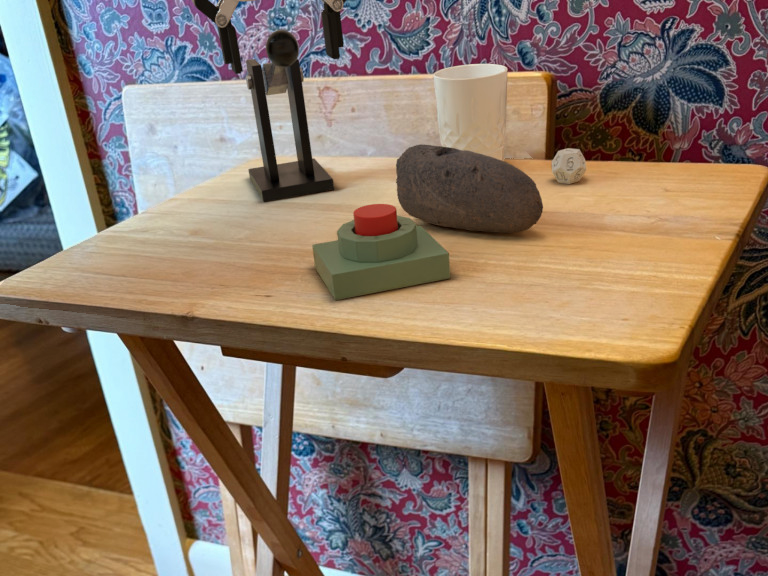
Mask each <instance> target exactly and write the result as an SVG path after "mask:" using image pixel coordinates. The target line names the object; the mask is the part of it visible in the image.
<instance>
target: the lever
mask: <svg viewBox="0 0 768 576" xmlns="http://www.w3.org/2000/svg"><path fill="white" fill-rule="evenodd" d="M265 53H266V54H267V58H268V59H269V61H270V62H267V63H263V64H262V73H263V79H264V86H265V92H266V96H273V95H280V94H286V93H287V87H288V80H287V75H286V71H285V67H288V66H290V65H292V64H293V63H294V62H295V61H296V59H298V57H299V53H300V47H299V42H298V40H297V38H296V37H295V35H294V34H292V32H290V31H288V30H286V29H277V30H275V31H273V32H272V33H270V35H268V38H267V40H266V43H265Z"/></svg>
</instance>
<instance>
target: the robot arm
mask: <svg viewBox="0 0 768 576" xmlns="http://www.w3.org/2000/svg"><path fill="white" fill-rule="evenodd" d="M190 1H191V3H192V4H193V5H194V7H195V8H196V9H197V10H198V11H199V12H200V13H202V14H203V15H204V16H205V17H207V18H208V19H209V20H210V21H212V22H213V23H214V24H215V25H216V26H217V32H218V38H219V43H220V49H221V53H222V58H223V63H224V65H230V68H231V70H232V72H233V73H234V74H235V75H239V74H242V72H243V71H244V70H243V65H242V58H241V52H240V45H239V42H238V41H239V40H238V36H237V30H236V27H235V26H234V25H233V24H232V23H233V22H232V16H233V15H234V12H235V11H236V8H237V6H238V4H239V2H255V1H256V0H218V1H217V4H216V5H215V4H214V3H213V2H212V1H210V0H190ZM320 1H321V2H322V3H323V9H322V11H321V12H320V15H321V22H322V23H321V24H322V32H323V38H324V48H325V54H326V56H327V57H329V58H331V59H332V60H339V59H341V58H340V56H341V55H340V48H344V46H345V45H344V43H345V42H344V34H343V25H342V16H341V11H342V10H343V8H344V5H345V3H346V2H347V0H320Z"/></svg>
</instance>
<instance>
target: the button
mask: <svg viewBox="0 0 768 576" xmlns="http://www.w3.org/2000/svg"><path fill="white" fill-rule="evenodd" d="M352 215H353V220H354V224H355V233H356V234H357V235H361V236H380V235H385V234H390V233H392V232H395V231H397V230H398V222H397V215H398V210H397V207H396V206H395V205H392V204H389V203H373V204H367V205H363V206H360V207H358V208H356V209H354V210H353V213H352Z"/></svg>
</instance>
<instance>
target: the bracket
mask: <svg viewBox="0 0 768 576" xmlns="http://www.w3.org/2000/svg"><path fill="white" fill-rule="evenodd" d="M245 64H246V70H247V74H246V75H245V82H246V87H247V90H249V91H250V93H251V99H252V100H251V101H252V105H253V111H254V118H255V123H256V129H257V136H258V142H259V147H260V153H261V160H262V165H263V166H258V167H253V168H251V167H250V168H248V170H247V171H248V175H249V180H250V182H251V183H252V185H253V186H254V189H255V190H256V191H257V193H258V195H259V196H260V198H261V200H262V201H263V202H264V203H265V202H270V201H276V200H283V199H287V198H289V199H290V198H294V197H299V196H306V195H313V194H317V193H324V192H329V191H335V184H334V179H333V177H332V176H331V174H329V173H328V172H327V170H325V169H324V167H323V166H322V165H321V164H320V163H319V162H318V161H317V160H316V158H313V153H312V148H311V147H312V146H311V140H310V139H311V138H310V131H309V124H308V117H307V111H306V102H305V95H304V88H303V82H304V79H305V78H304V71H303V68H302V67H301V65H300V59H298V58H297V59H296V61H295V62H294V63H293V64H292V65H290V66H288V67H285V71H286V75H287V80H288V87H287V90H286V92H287V95H288V96H287V98H288V104H289V111H290V118H291V123H292V125H291V126H292V132H293V138H294V145H295V151H296V158H297V159H296V160H295V161H289V162H283V163H278V162H277V161H278V160H277V155H276V151H275V150H276V149H275V143H274V137H273V130H272V124H271V118H270V111H269V106H268V100H267V95H266V92H265V86H264V79H263V73H262V68H263V66H262V65H261V63H260V62H258V60H256V59H255V58H252V59H246V60H245Z"/></svg>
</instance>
